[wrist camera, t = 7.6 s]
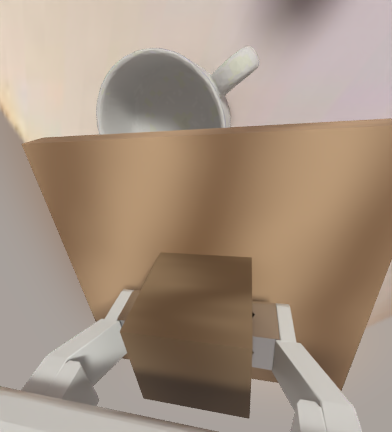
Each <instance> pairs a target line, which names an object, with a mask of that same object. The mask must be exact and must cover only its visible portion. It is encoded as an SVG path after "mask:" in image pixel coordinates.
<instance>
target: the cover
mask: <svg viewBox="0 0 392 432" xmlns="http://www.w3.org/2000/svg"><path fill="white" fill-rule="evenodd" d="M22 146H23V149H24V151H25V153H26V155H27V158H28V161H29V163H30V165H31V168H32V170H33V173H34V175H35V177H36V180H37V182H38V184H39V187H40V189H41V192H42V194H43V196H44V199H45V201H46V203H47V206H48V208H49V211H50V213H51V216H52V218H53V220H54V223H55V225H56V227H57V230H58V232H59V235H60V237H61V239H62V242H63V244H64V247H65V249H66V251H67V253H68V256H69V259H70V261H71V263H72V266H73V268H74V270H75V273H76V275H77V277H78V280H79V282H80V285H81V287H82V289H83V292H84V294H85V297H86V299H87V301H88V303H89V306H90V309H91V311H92V313H93V316H94V318H95V321H96V322H97V321H99V320H100V319H105V317H106V316H107V314H108V312H109V311H110V309H111V307H112V306H113V304H114V303H115V301H116V299H117V298H118V296H119V294H120V293H121V291H123V290H124V289H128V290H138V291H140V293H139V295H138V297H137V299H136V301H135V303H134V305H133V307H132V309H131V310H130V312H129V314H128V316H127V318H126V320H125V322H124V324H123V326H122V328H121V330H120V334H121V337H122V339H123V342H124V345H125V348H126V351H127V353H126V354H125V355H124V356H123V357H122V358H124V359H130V362H131V365H132V367H133V370H134V373H135V376H136V378H137V381H138V384H139V387H140V390H141V392H142V395H143V398H144V399H150V400H155V401H160V402H165V403H171V404H176V405H181V406H187V407H191V408H197V409H202V410H207V411H212V412H218V413H223V414H228V415H233V416H239V417H244V418H249V414H250V393H251V379H258V380H264V381H270V382H277V383H278V381H277V379H276V378H275V376H274V374H273V372H272V370H267V369H261V368H255V367H252V350H253V343H252V301H256V302H268V303H275V304H276V303H278V304H289V306H290V309H291V315H292V320H293V326H294V332H295V337H296V342H297V343H301V344H302V345H303V347H304V348H305V349H306V350H307V351H308V353H309V354H310V355H311V356H312V357H313V358H314V360H315V361H316V362H317V363H318V364H319V366H320V367H321V368H322V369H323V370H324V372H325V373H326V374H327V375H328V376H329V378H330V379H331V380H332V381H333V382H334V383H335V385H336V386H337V387H338V388H339V389H340V391H341V390H342V388H343V385H344V383H345V380H346V377H347V374H348V372H349V369H350V367H351V364H352V362H353V359H354V356H355V354H356V351H357V349H358V346H359V343H360V341H361V338H362V335H363V333H364V330H365V328H366V325H367V322H368V320H369V317H370V315H371V312H372V309H373V307H374V304H375V301H376V299H377V296H378V294H379V291H380V288H381V286H382V283H383V281H384V278H385V275H386V273H387V270H388V267H389V265H390V262H391V260H392V119H374V120H356V121H338V122H320V123H302V124H284V125H265V126H247V127H229V128H211V129H193V130H175V131H157V132H138V133H120V134H102V135H84V136H66V137H48V138H41V139H37V140H34V141H30V142H27V143H23V144H22Z"/></svg>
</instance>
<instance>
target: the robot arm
mask: <svg viewBox="0 0 392 432" xmlns="http://www.w3.org/2000/svg"><path fill="white" fill-rule="evenodd" d="M139 293H140V291H138V290H128V289H124V290H123V291H121V293H120V294H119V296H118V298H117V299H116V301H115V303H114V304H113V306H112V307H111V309H110V311H109V312H108V314H107V316H106V317H105V319H100V320H99V321H97V322H96V323H94V324H93V325H91V326H90V327H88V328H87V329H85V330H84V331H82V332H81V333H79V334H78V335H76V336H75V337H73V338H72V339H71V340H69V341H67V342H66V343H64V344H63V345H61V346H60V347H59V348H57V349H56V350H54V351H53V352H51V353H50V354H48V355H47V356H46V357H45V359H44V360H43V361H42V363H41V364H40V366H39V367H38V368H37V369H36V371H35V372H34V373H33V375H32V376H31V378H30V379H29V380H28V382H27V383H26V384H25V385H24V387H23V388H22V390H16V389H11V388H7V387H2V386H0V432H217V431H212V430H208V429H203V428H198V427H193V426H189V425H184V424H179V423H174V422H169V421H165V420H160V419H155V418H150V417H145V416H141V415H136V414H131V413H126V412H122V411H117V410H112V409H107V408H103V407H98V406H97V404H98V402H99V398H98V395H97V393H96V391H95V390H94V388H93V386H94V385H95V384H96V383H97V382H98V381H99V380H100V379H101V378H102V377H103V376H104V375H105V374H106V373H107V372H108V371H109V370H110V369H111V368H112V367H113V366H114V365H115V364H116V363H117V362H118V361H119V360H120V359H121V358H122V357H123V356H124V355H125V354H126V353H127V351H126V348H125V345H124V342H123V339H122V337H121V334H120V330H121V328H122V326H123V324H124V322H125V320H126V318H127V316H128V314H129V312H130V310H131V309H132V307H133V305H134V303H135V301H136V299H137V297H138V295H139ZM252 343H253V350H252V367H255V368H261V369H267V370H272V372H273V374H274V376H275V378H276V379H277V381H278V383H279V384H280V386H281V388H282V390H283V392H284V393H285V395H286V397H287V399H288V400H289V402H290V403H291V406H292V407H293V409H294V411H295V414H294V418H293V423H292V427H291V432H362V430H361V426H360V423H359V420H358V417H357V414H356V410H355V407H354V406H353V405H352V404H351V403H350V402H349V400H348V399H347V398H346V397H345V395H344V394H343V393H342V392H341V391H340V389H339V388H338V387H337V386H336V385H335V383H334V382H333V381H332V380H331V379H330V378H329V376H328V375H327V374H326V373H325V372H324V370H323V369H322V368H321V367H320V366H319V364H318V363H317V362H316V361H315V360H314V358H313V357H312V356H311V355H310V354H309V353H308V351H307V350H306V349H305V348H304V347H303V345H302V344H301V343H297V342H296V337H295V332H294V326H293V320H292V315H291V309H290V306H289V304H278V303H276V304H275V303H268V302H256V301H252Z"/></svg>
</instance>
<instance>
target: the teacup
mask: <svg viewBox="0 0 392 432" xmlns="http://www.w3.org/2000/svg"><path fill="white" fill-rule="evenodd" d="M258 66H259V58H258V56H257V54H256V52H255V51H254V49H253V48H252V47H250V46H246V47H244V48H242V49H240V50H239V51H237V52H236V53H235V54H234V55H232V56H231V57H230V58H229V59H227V60H226V61H225V62H224V63H223V64H222V65H221V66H220V67H219V68H218V69H217V70H216V71H215V72H214V73H213V74H212V75H210V74H209V73H208V72H207V71H206V70H204V69H203V68H202V67H200V66H199V65H197V64H195V63H193V62H191V61H190V60H189V59H187V58H186V57H184V56H183V55H180V54H178V53H176V52H174V51H170V50H166V49H162V48H149V49H142V50H138V51H136V52H133V53H131V54H129V55H127V56H125V57H123V58H122V59H121V60H119V61H118V62H117V63H116V64H115V65H114V66H113V67H112V68H111V70H110V71H109V72H108V74H107V75H106V77H105V79H104V81H103V83H102V85H101V88H100V92H99V96H98V100H97V107H96V116H97V127H98V131H99V135H102V134H120V133H138V132H157V131H175V130H193V129H211V128H229V127H230V111H229V106H228V103H227V100H226V97H225V95H226V94H227V93H228V92H229V91H230V90H231V89H233V88H234V87H235V86H236V85H237V84H239V83H240V82H241V81H242V80H243V79H245V78H246V77H247V76H249V75H250V74H251V73H252V72H253V71H254V70H255V69H257V68H258Z"/></svg>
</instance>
